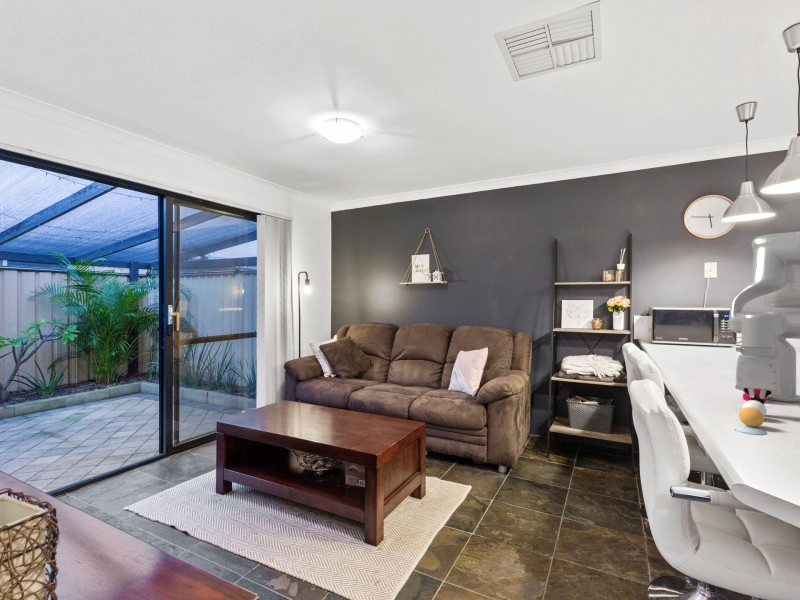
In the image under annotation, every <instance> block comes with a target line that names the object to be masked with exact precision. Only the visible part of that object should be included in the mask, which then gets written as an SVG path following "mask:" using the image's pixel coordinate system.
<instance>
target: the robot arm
mask: <svg viewBox="0 0 800 600" xmlns="http://www.w3.org/2000/svg"><path fill="white" fill-rule="evenodd" d="M751 249H752V252H753V257H752V258H753V259H752V265H751V274H750V275H751V276H750V282H749V284H748V285H746V286H745V287H743V288H742V289H741V290H740V291H739V292H738V293H736V295H735V296H734V298H733V299H732V301H731V303H730V308H729V309H730V310H729V316H728V317H729V318H728V327H729V329H730V330H731V332H733V333H736V334H741V346H739V347H735V351H736V352H737V353H738V352H739V353H740V355H739V354H738V356H737V361H736V368H735V383H736V384H735V389H736V390H739V391H742V392H744V391H745V392H746V393H747V394H748V395H749V396H750V397H751V400H755V401H759V402H761V403H762V404H763V405H764V406H765V402H764V398H765V397H766V400H769V401H770V400H772V401H777V402H788V403H789V402H790V403H793V402H794V403H796V402H797V403H799V402H800V395H798V394H797V351H796V349H795V347H794V346H793V345H792V344H791V343H790V342H789V341H788V340H787V339H794V340H795V339H796V340H800V311H743V309H744V307H745V306H746V305H747V304H748V303H749V302H751V301H753V300H755V299H757V298H759V297H760V298H761V297H762V300H763V303H764V305H765V306H766V307H768V308H775V309H778V308H779V309H800V281H796V268H795V266H800V231H790V232H789V231H788V232H780V233H779V232H778V233H777V232H776V233H769V234H768V233H767V234H764V235H759V236H756V237H754V238H753V239H752V241H751ZM754 389H761V391H760V395H759V396H758V397H757V395H756V394H755V390H754ZM745 392H744V393H745Z"/></svg>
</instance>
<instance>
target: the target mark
mask: <svg viewBox="0 0 800 600" xmlns="http://www.w3.org/2000/svg"><path fill="white" fill-rule="evenodd" d="M743 426H744V428H742V430H738V431H737V432H739V431H741V432H740V433H743V432H744V433H743V434H747V433H748V434H749V435H756V436H763V435H766V434H767V432H766V431H765V430H763V429H761V428H759V427H758V428H757V427H750V426H747V425H743ZM736 430H737V429H736ZM736 430H735V431H736Z"/></svg>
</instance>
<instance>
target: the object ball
mask: <svg viewBox="0 0 800 600" xmlns="http://www.w3.org/2000/svg"><path fill="white" fill-rule="evenodd" d="M738 417H739V420H740V422H741V423H742V424H744V426H748V427H754V428H757V427H758V428H759V427H760V426H762V425H763V423H764V422H765V416H763V414H762V413H761V412H760V411H759V410H758V409H756V408H752V407H747V408H744V409H743V408H742V409H741V410H740V411H739V413H738Z"/></svg>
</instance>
